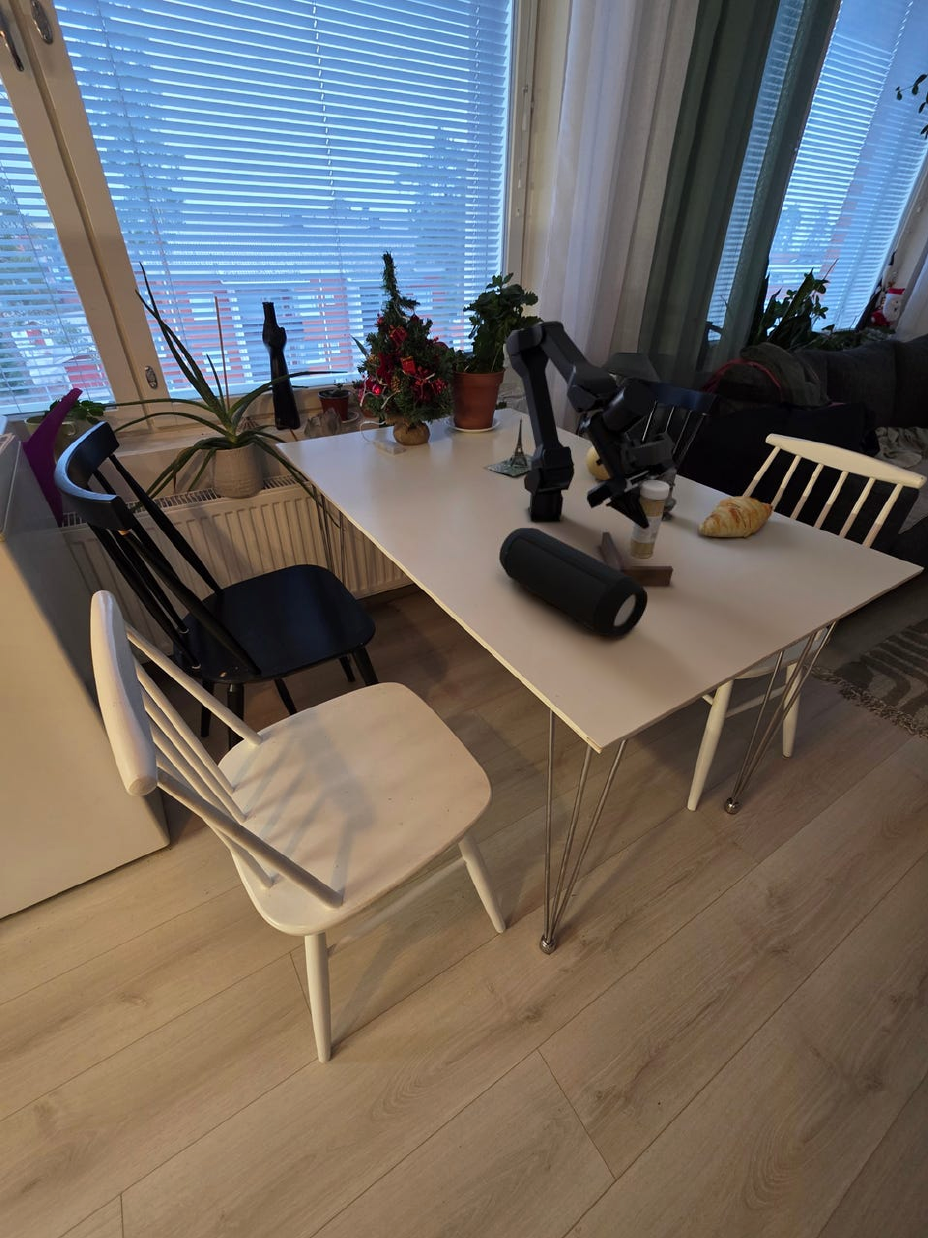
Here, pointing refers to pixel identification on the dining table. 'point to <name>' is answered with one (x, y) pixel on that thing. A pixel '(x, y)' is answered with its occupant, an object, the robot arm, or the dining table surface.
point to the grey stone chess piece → (669, 501)
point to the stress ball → (595, 465)
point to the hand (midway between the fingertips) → (654, 523)
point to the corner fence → (640, 573)
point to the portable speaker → (574, 581)
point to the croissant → (736, 517)
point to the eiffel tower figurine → (515, 460)
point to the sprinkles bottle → (649, 518)
